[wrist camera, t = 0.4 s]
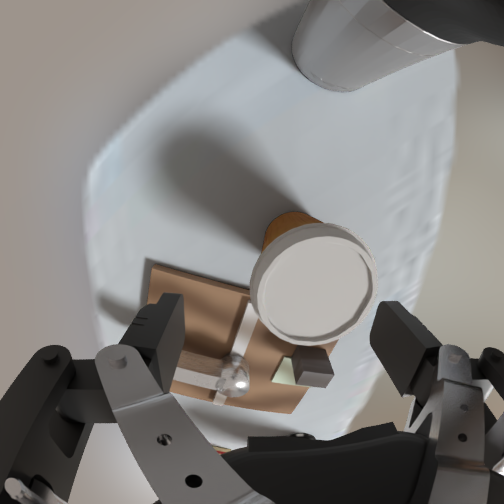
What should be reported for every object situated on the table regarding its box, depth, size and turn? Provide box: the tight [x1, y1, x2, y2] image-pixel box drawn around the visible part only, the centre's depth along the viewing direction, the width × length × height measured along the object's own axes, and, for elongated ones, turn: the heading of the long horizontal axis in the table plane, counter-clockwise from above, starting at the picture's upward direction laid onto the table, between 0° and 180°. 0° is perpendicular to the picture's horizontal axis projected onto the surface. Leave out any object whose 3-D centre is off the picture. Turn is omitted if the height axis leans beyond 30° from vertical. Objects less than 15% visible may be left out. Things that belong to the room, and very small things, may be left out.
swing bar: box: [173, 350, 250, 397], centre depth 30 cm, size 15×4×4 cm, turn 73°
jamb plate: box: [147, 264, 339, 414], centre depth 32 cm, size 20×24×6 cm
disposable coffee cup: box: [250, 212, 378, 346], centre depth 24 cm, size 10×10×12 cm
